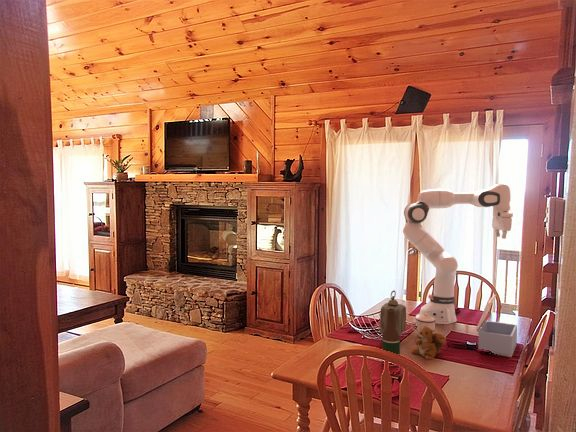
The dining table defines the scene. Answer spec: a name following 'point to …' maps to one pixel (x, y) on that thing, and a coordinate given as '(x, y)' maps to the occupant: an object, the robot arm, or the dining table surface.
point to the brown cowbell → (399, 315)
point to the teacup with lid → (424, 323)
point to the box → (498, 338)
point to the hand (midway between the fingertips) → (500, 237)
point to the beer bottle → (391, 335)
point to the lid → (485, 313)
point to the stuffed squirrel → (429, 343)
